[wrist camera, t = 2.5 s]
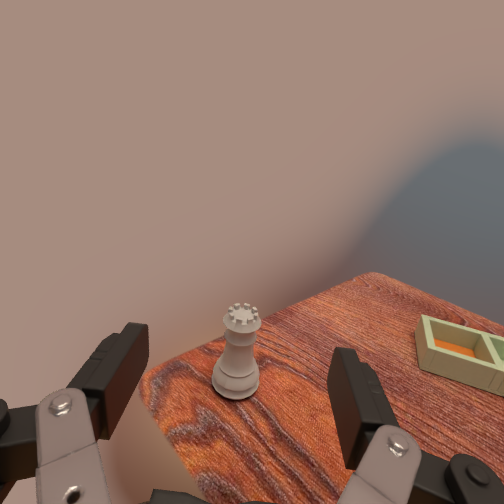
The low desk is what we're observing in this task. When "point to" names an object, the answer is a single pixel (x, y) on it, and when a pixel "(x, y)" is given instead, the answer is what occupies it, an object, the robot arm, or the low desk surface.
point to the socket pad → (461, 354)
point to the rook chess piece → (238, 355)
